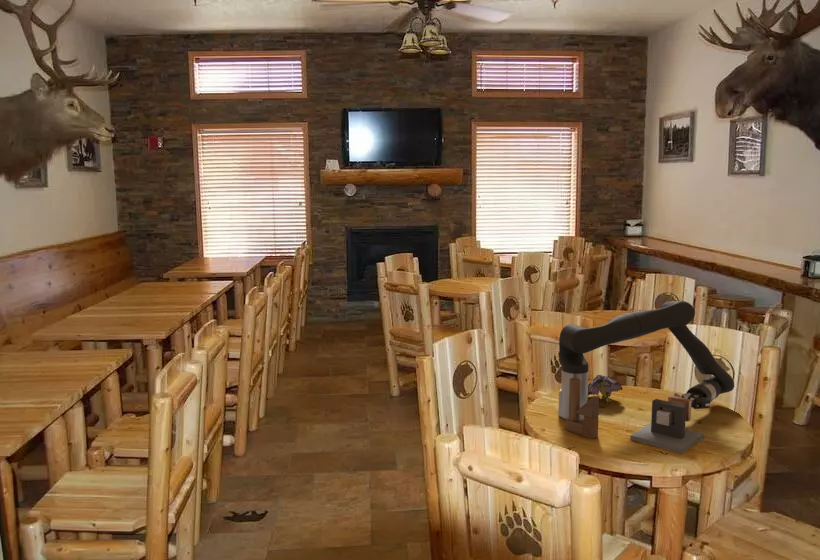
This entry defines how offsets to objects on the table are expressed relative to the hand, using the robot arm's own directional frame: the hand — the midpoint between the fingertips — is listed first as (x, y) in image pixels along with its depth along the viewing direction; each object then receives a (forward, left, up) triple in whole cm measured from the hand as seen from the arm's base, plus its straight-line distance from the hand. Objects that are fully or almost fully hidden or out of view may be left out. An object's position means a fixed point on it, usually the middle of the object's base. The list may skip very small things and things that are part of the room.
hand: (681, 406), depth 229 cm
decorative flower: (-34, +9, -8) cm, 36 cm away
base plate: (0, -11, -8) cm, 14 cm away
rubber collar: (0, -11, -6) cm, 13 cm away
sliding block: (0, -8, -3) cm, 9 cm away
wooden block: (-23, -25, -8) cm, 35 cm away
